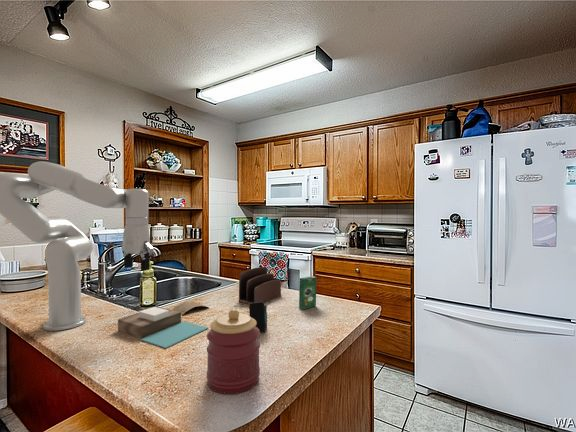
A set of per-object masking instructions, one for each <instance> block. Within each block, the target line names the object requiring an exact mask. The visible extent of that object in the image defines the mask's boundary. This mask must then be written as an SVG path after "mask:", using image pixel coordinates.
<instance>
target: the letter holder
mask: <svg viewBox="0 0 576 432" xmlns="http://www.w3.org/2000/svg"><path fill="white" fill-rule="evenodd" d="M274 277H275V276H274V273H268V268H267V266H259V267H258V266H257V267H254V268H250V269H247V270H244V271H242V272H240V273H239V277H238V302H240V303H243V304H248V305H249V303H256V302H264V303H265V302H268V301H270V300H272V299H275V298H277V297H280V296H282V283H281V282H282V281H281V279H275V278H274Z"/></svg>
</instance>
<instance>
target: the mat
mask: <svg viewBox="0 0 576 432" xmlns="http://www.w3.org/2000/svg"><path fill="white" fill-rule="evenodd" d="M208 329H209V327H207V326H203V325H200V324H196V323H193V322H188V321H185V320H184V321H181V323H179V324H176V325H174V326H171V327H169V328H166V329H164V330H161V331H159V332H157V333H154V334H152V335H149V336H147V337H144V338H142V339H141V338H139V339H140V341H141V342H145V343H147V344H151V345H154V346H157V347H159V348H163V349H165V350H166V349H168V348H171V347H172V346H175V345H176V344H179V343H181V342H183V341H185V340H187V339H189V338H191V337H194V336H196V335H198V334H200V333H202V332H204V331H206V330H208Z"/></svg>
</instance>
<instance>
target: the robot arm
mask: <svg viewBox="0 0 576 432" xmlns="http://www.w3.org/2000/svg"><path fill="white" fill-rule="evenodd" d="M27 174H28V175H25V174H18V173H11V172H10V173H9V172H4V173H2V172H1V173H0V215H1V216H2V217H4V218H5V219H6V220H7V221H8V222H10V223H11V224H12V225H13V226H14V227H15V228H16V229H17V230H18V231H20V232H21V233H22V234H23V235H24V236H25V237H26V238H28V239H29V240H30V241H32V242H33V243H36V244H46V243H48V244H47V245H46V248H45V250H44V259H45V263H46V266H47V277H48V278H47V280H48V281H47V282H48V321H46V322H45V323H43V330H45V331H49V332H50V331H52V332H53V331H54V332H55V331H56V332H57V331H64V330H68V329H74V328H77V327H79V326H82V325H83V324H85V323H86V322H87V316H84V315H82V284H81V283H82V279H81V278H82V273H81V269H80V265H79V263H78V262H79V261H81V260H85V259H86V258H88V257H89V256H91V254H92V252H93V249H94V248H93V242H92V241H91V240H90V239H89V237H87V236H86V234H84V233H83V231H81V230H80V229H79V228H77V227H76V226H75V225H74V224H73V223H72V222H71V221H69V220H68V219H67V218H63V217H61V216H48V215H45V214H44V213H42V212H41V211H40V210H39V209H37V208H36V207H35V206H34V205H32V204H31V203H30V202H28V201H26V200H25V199H34V198H38V197H40V196H44V195H45V194H49V193H51V192H54V191H58V192H61V193H63V194H66V195H70V196H71V197H73V198H76V199H78V200H79V201H83V202H86V203H87V204H91V205H94V206H97V207H100V208H104V209H125V226H124V228H123V234H122V235H123V236H122V244H121V245H120V246H121V252H122V253H123V255H122V256H123V260H124V261H123V268H124V269H127V268H132V267H133V266H134V256H133V255H140V257H141V259H140V271H141V272H144V271H148V270H149V271H150V267H151V266H150V263H151V262H150V260H151V259H152V256H153V252H154V249H155V248H154V247H153V246H152V245H151V238H150V228H149V203H150V201H149V197H150V196H149V191H148V190H146V189H143V188H129V189H126V188H125V189H124V188H119V187H114V186H112V187H111V186H107V185H105V184H101V183H99V182H95V181H93V180H90V179H88V178H86V176H85V175H84V174H83V173H80V172H78V171H74V170H71V169H68V168H67V167H65V166H63V165H62V164H58V163H55V162H49V161H36V162H33V163H31V165H29V167H28V169H27Z"/></svg>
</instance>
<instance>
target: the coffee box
mask: <svg viewBox="0 0 576 432" xmlns="http://www.w3.org/2000/svg"><path fill="white" fill-rule="evenodd" d="M316 306H317V276H306V277H301V278H300V277H299V293H298V308H299V309H300V310H307V309H309V308H314V307H316Z"/></svg>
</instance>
